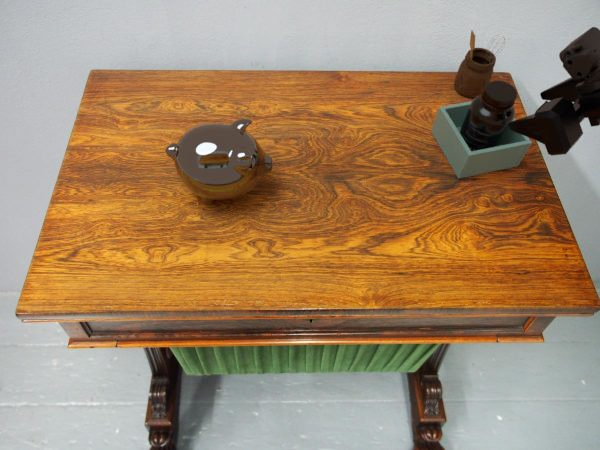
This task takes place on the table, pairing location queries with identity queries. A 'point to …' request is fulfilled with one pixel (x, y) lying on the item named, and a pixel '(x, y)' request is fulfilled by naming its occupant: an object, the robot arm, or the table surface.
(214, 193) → the piggy bank
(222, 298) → the table surface
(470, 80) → the utensil holder
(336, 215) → the table surface
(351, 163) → the table surface
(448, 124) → the open storage bin
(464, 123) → the supplement bottle
